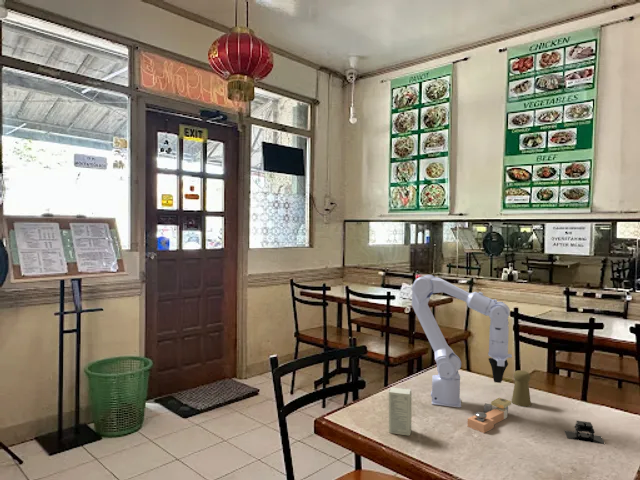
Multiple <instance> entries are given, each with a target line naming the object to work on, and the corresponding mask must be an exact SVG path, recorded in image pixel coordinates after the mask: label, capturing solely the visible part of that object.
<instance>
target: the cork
mask: <svg viewBox="0 0 640 480" xmlns="http://www.w3.org/2000/svg"><path fill="white" fill-rule="evenodd" d="M513 379H514V385H513V390H512V397H511V404H513V405H515V406H518V407H526V408H527V407H531V405H532V403H531V394H530V385H529V382H530V381H531V375H530V373H529V372H528V371H526V370H520V369H519V370H515V371H514V372H513Z"/></svg>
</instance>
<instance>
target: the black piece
mask: <svg viewBox="0 0 640 480" xmlns="http://www.w3.org/2000/svg"><path fill="white" fill-rule="evenodd" d="M564 434H565V436H566V438H567V440H568V439H569V440H574V441H580V442H586V443H587V442H588V443H594V444H599V445H605V444H604V442H605V441H604V439H603V437H602V435H596V434H595V429H594V426H593V424H592V422H590V421H584V420H576V422H575V424H574V431H571V430H564ZM601 437H602V438H601Z"/></svg>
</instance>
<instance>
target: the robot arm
mask: <svg viewBox="0 0 640 480" xmlns="http://www.w3.org/2000/svg"><path fill="white" fill-rule="evenodd" d="M411 291H412V292H411V306H412V309H413V311H414V314H416V315H415V316H416V318H417V319H418V321H419V324H420V326H421V327H422V330H423V331H424V334H425V336H426V338H427V339H428V342H429V345H430V346H431V348H432V350H433V352H434V353H433V354H434V360H435V363H436V371H437V373H438V374H432V378H431V379H432V380H431V391H430V397H431V404H432V405H434V406H435V405H436V406H443V407H444V406H445V407H452V408H462V402H461V401H462V400H461V396H460V395H461V393H460V392H461V375H460V373H459V371H460V369H461V367H462V361H461V358H460V357H459V356H458V355H457V354H456V353H455V352H454V350H453V349H452V347H450V346H449V345H448V343H447V341H446V338H445V336H444V335H443V332H442V331H441V328H440V327H439V325H438V322H437V320H436V319H435V316H434V314H433V312H432V310H431V308H430V306H429V301H430V300H431V297H432V295H433V294H439V293H444V294H447V295H449V296H451V297H452V298H453V297H454V298H456V299H458V300H461V301H463V302H465V304H466V305H467V307H468V308H469V309H471V310H474V311H476V312H477V313H480V314H481V315H484V316H487V317H489V319H490V325H489V339H488V353H487V355H488V357H489V358H488V362H489V364H490V366H491V372H492V378H493V382H494V383H496V384H497V383H499V384H501V383H502V382H503V378H504V375H505V371H506V369H507V368H508V366H509V362H508V359H509V358H510V359H511V358H512V357H513V355H512V354H511V353H509V335H510V334H509V333H510V330H509V316H510V314H511V313H510V312H511V309H510V307H509V305H508V304H506V303H505V302H503V301H498V299H496V298H494V299H493V298H491V297H488V296H486V295H484V292H482V291H478V292H477V291H474V292H468V291H467V290H464V289H463V288H460V287H458V285H457V286H456V285H455V284H452V283H451V282H449V281H447V280H445V279H442V278H441V277H437V276H436V277H435V276H434V275H432V274H426V275H424V276H419V277H417V278H416V279H414V281H413V283H412V286H411Z"/></svg>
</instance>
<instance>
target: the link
mask: <svg viewBox="0 0 640 480" xmlns="http://www.w3.org/2000/svg"><path fill="white" fill-rule="evenodd" d="M485 414H487V417H486V418H484V422H480V421H478V420H477V417H476V416H475V414H473V415H472V416H470V417H468V418H467V427H468V428H470V429H473V430H475V431H478V432H480V433H483V434H485V433H487V432H489V431H490V430H493V429H494V428H495V425H496V424H498V423H499V422H502V421H503V420H505V419H507V418H508V414H507V410H506V409H502V408H499V407H495V408H493V409H492V410H491V411H489V412H487V413H485Z"/></svg>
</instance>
